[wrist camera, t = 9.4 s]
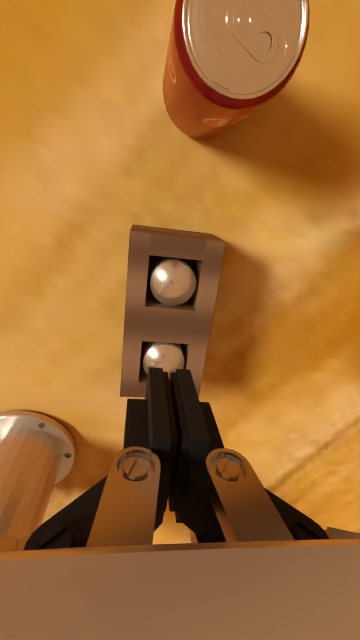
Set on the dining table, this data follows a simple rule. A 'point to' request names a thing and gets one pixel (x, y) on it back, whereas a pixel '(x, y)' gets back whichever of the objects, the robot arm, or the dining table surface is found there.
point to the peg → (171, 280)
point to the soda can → (230, 60)
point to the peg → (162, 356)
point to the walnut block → (168, 320)
